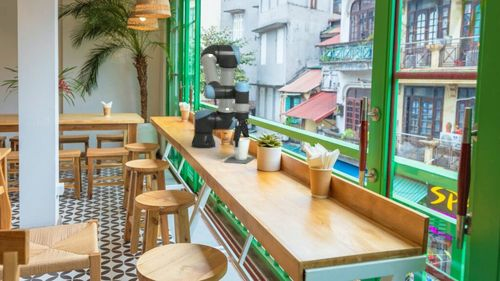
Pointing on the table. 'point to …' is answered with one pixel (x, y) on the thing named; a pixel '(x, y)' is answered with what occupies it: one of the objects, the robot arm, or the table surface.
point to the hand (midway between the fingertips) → (241, 151)
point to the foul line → (227, 158)
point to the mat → (233, 160)
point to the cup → (242, 149)
